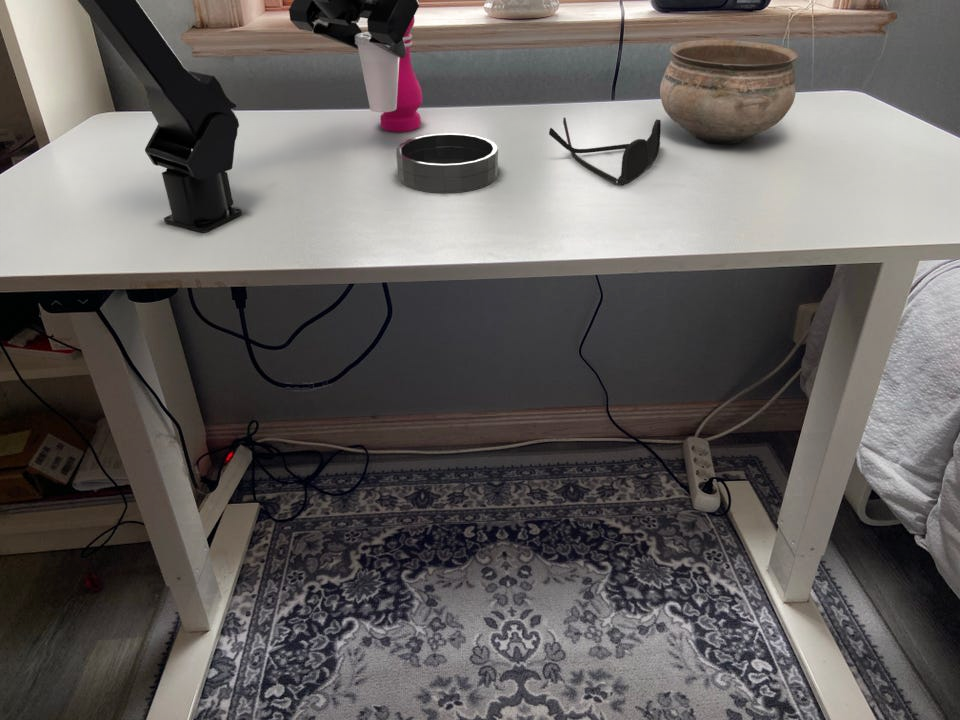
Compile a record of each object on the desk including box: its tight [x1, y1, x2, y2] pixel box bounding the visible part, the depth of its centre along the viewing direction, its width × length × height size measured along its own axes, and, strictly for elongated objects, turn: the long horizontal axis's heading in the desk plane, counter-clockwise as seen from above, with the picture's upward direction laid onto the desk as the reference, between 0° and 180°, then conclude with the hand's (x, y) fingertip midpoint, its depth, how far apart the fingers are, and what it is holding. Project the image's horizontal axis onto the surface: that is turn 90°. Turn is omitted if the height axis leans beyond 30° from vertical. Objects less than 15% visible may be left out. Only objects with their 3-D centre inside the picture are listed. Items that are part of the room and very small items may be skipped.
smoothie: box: [355, 31, 399, 113], centre depth 102 cm, size 6×6×14 cm
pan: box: [395, 133, 499, 194], centre depth 99 cm, size 13×13×4 cm
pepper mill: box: [380, 16, 423, 133], centre depth 114 cm, size 7×7×20 cm
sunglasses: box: [548, 117, 662, 185], centre depth 103 cm, size 17×14×5 cm
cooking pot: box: [659, 39, 799, 145], centre depth 110 cm, size 25×19×12 cm
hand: (386, 52), depth 103 cm, fingers closed on smoothie, 6 cm apart
